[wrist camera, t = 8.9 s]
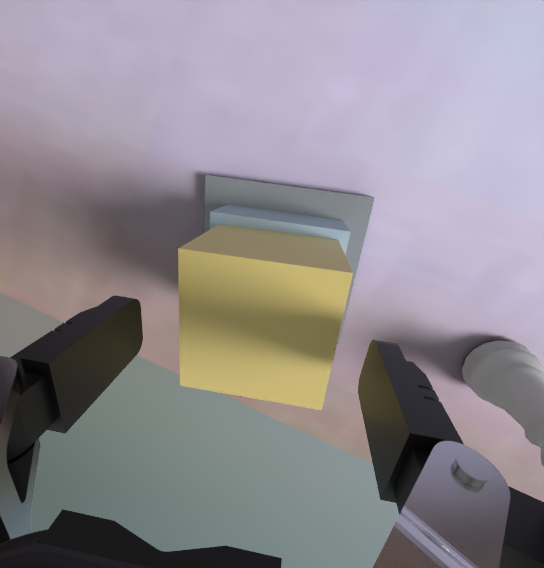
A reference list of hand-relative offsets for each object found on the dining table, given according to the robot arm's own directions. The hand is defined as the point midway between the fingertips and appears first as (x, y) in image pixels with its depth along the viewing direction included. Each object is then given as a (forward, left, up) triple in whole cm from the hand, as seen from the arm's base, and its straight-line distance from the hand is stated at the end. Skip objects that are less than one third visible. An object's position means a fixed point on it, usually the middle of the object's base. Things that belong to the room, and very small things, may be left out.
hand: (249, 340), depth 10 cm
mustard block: (0, 0, -6) cm, 6 cm away
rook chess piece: (+5, +16, -10) cm, 20 cm away
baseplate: (0, 0, -10) cm, 10 cm away
